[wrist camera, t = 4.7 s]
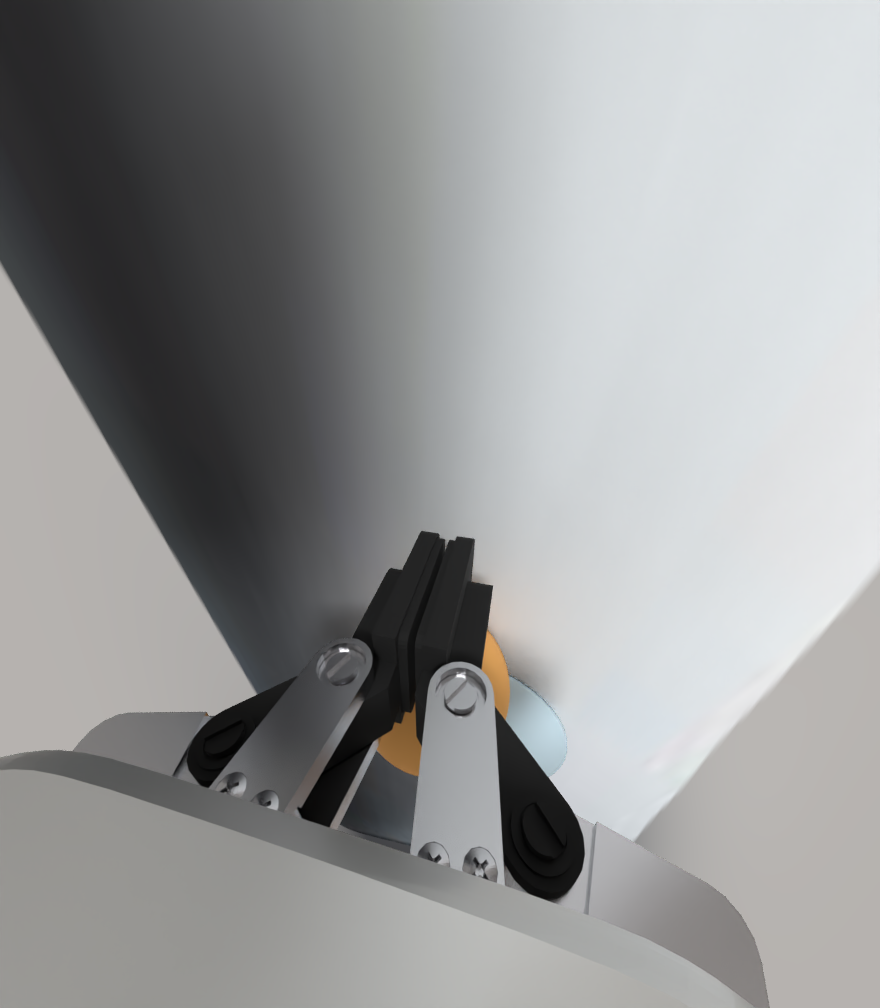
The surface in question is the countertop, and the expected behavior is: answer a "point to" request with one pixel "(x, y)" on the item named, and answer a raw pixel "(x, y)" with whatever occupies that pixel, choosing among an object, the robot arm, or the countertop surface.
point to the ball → (402, 738)
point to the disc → (536, 727)
